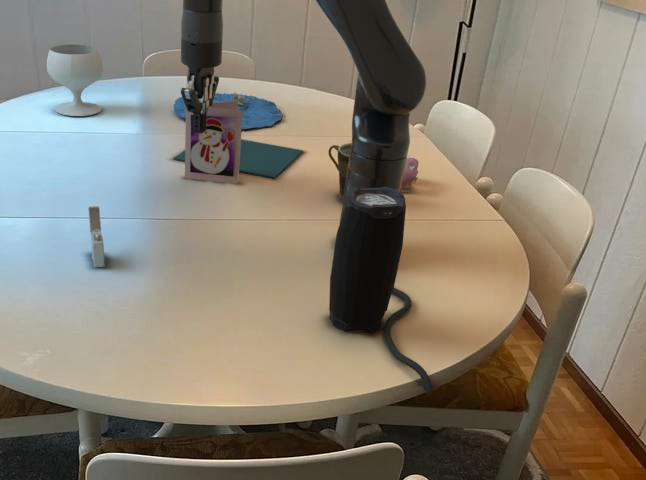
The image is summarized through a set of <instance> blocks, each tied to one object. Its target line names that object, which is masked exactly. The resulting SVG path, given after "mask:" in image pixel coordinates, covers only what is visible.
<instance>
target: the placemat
mask: <svg viewBox="0 0 646 480" xmlns="http://www.w3.org/2000/svg"><path fill="white" fill-rule="evenodd" d="M303 153H304V150H303V149H298V148H293V147H292V148H291V147H285V146H279V145H276V144H271V143H270V144H269V143H264V142H257V141H252V140H247V139H242V138H241V147H240V165H239V173H241V174H245V175H246V174H247V175H251V176H257V177H261V178H262V177H263V178H267V179H273V180H276V179H277V177H279V176H280V175H281V174H282V173H283V172H284V171H285V170H286V169H287V168H288V167H289V166H290V165H291V164H292V163H293V162H295V160H297V158H299V157H300V156H301V154H303ZM173 160H174V161H179V162H184V163H185V150H182V152H180V153H179V154H177V155H176V156H174V157H173Z"/></svg>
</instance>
